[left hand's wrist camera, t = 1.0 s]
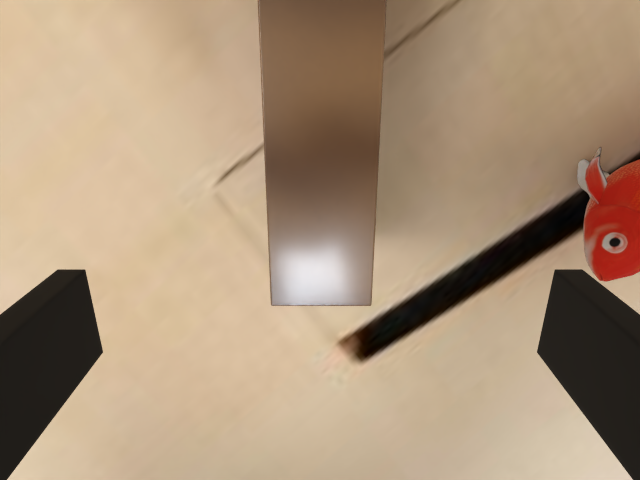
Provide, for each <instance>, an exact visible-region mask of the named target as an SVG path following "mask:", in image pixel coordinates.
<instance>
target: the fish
mask: <svg viewBox="0 0 640 480" xmlns="http://www.w3.org/2000/svg"><path fill="white" fill-rule="evenodd" d="M600 154H601V147H599V149H598V150H597V152H596V154H595V155H594V157H593V159H592V160H591V161H590V162H588V161H587V160H586V159H583V160H581V161H579V163H578V171H577V180H578V184H579V186H580V187H581V188H582V189H583V190H585V191H586V192H587V193H588V194H589V196H590V200H589V202H588V204H587V208H586V212H585V217H584V250H585V256H586V260H587V263H588V265H589V267H590V269H591V270H592V272H593V273H594V274H595V275H596V277H597V278H598V279H599V280H600V281H610V280H614V279H618V278H623V277H627V276H631V275H634V274H636V273H638V272H640V160H637V161H634V162H632V163H630V164H627V165H625V166H623V167H621V168H619V169H617V170H616V171H614V172H613V173H612V174H611V175H609V173H607V172H605V171H603V170H602V169H601V167H600Z"/></svg>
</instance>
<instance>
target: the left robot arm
mask: <svg viewBox="0 0 640 480" xmlns="http://www.w3.org/2000/svg"><path fill="white" fill-rule="evenodd" d="M102 353H103V350H102V346H101V341H100V336H99V332H98V327H97V322H96V318H95V313H94V308H93V304H92V299H91V294H90V290H89V285H88V280H87V276H86V271H85V270H57V271H55V272H54V273H53V274H52V275H50V276H49V277H48V278H46V279H45V280H44V281H43V282H41V283H40V284H39V285H38V286H36V287H35V288H34V289H32V290H31V291H30V292H29V293H27V294H26V295H25V296H24V297H22V298H21V299H20V300H18V301H17V302H16V303H15V304H13V305H12V306H11V307H9V308H8V309H7V310H6V311H4V312H3V313H2V314H1V315H0V480H7V479H8V477H9V476H10V475H11V474H12V472H13V471H14V470H15V468H16V467H17V466H18V464H19V463H20V462H21V460H22V459H23V458H24V456H25V455H26V454H27V452H28V451H29V450H30V448H31V447H32V446H33V444H34V443H35V442H36V440H37V439H38V438H39V436H40V435H41V434H42V432H43V431H44V430H45V428H46V427H47V426H48V424H49V423H50V422H51V420H52V419H53V418H54V416H55V415H56V414H57V412H58V411H59V410H60V408H61V407H62V406H63V405H64V403H65V402H66V401H67V399H68V398H69V397H70V395H71V394H72V393H73V391H74V390H75V389H76V387H77V386H78V385H79V383H80V382H81V381H82V379H83V378H84V377H85V375H86V374H87V373H88V371H89V370H90V369H91V367H92V366H93V365H94V363H95V362H96V361H97V359H98V358H99V357H100V355H101V354H102ZM537 353H538V354H539V355H540V357H541V358H542V359H543V361H544V362H545V363H546V365H547V366H548V367H549V369H550V370H551V371H552V373H553V374H554V375H555V377H556V378H557V379H558V381H559V382H560V383H561V385H562V386H563V387H564V389H565V390H566V391H567V393H568V394H569V395H570V397H571V398H572V399H573V401H574V402H575V403H576V405H577V406H578V407H579V408H580V410H581V411H582V412H583V414H584V415H585V416H586V418H587V419H588V420H589V422H590V423H591V424H592V426H593V427H594V428H595V430H596V431H597V432H598V434H599V435H600V436H601V438H602V439H603V440H604V442H605V443H606V444H607V446H608V447H609V448H610V450H611V451H612V452H613V454H614V455H615V456H616V458H617V459H618V460H619V462H620V463H621V464H622V466H623V467H624V468H625V470H626V471H627V472H628V474H629V475H630V476H631V477H632V479H633V480H640V315H639V314H638V313H637V312H636V311H634V310H633V309H632V308H631V307H629V306H628V305H627V304H625V303H624V302H623V301H622V300H620V299H619V298H618V297H616V296H615V295H614V294H613V293H611V292H610V291H609V290H608V289H606V288H605V287H604V286H602V285H601V284H600V283H599V282H597V281H596V280H595V279H594V278H592V277H591V276H590V275H588V274H587V273H586V272H585V271H583V270H555V271H554V276H553V280H552V285H551V290H550V294H549V299H548V304H547V308H546V313H545V318H544V322H543V327H542V332H541V336H540V341H539V346H538V350H537Z"/></svg>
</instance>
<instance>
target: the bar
mask: <svg viewBox="0 0 640 480" xmlns="http://www.w3.org/2000/svg"><path fill="white" fill-rule="evenodd" d="M386 1H387V0H258V15H259V38H260V61H261V84H262V107H263V130H264V153H265V176H266V199H267V222H268V245H269V268H270V291H271V305H272V306H371V300H372V280H373V260H374V241H375V221H376V201H377V181H378V161H379V141H380V121H381V101H382V81H383V61H384V41H385V21H386Z"/></svg>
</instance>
